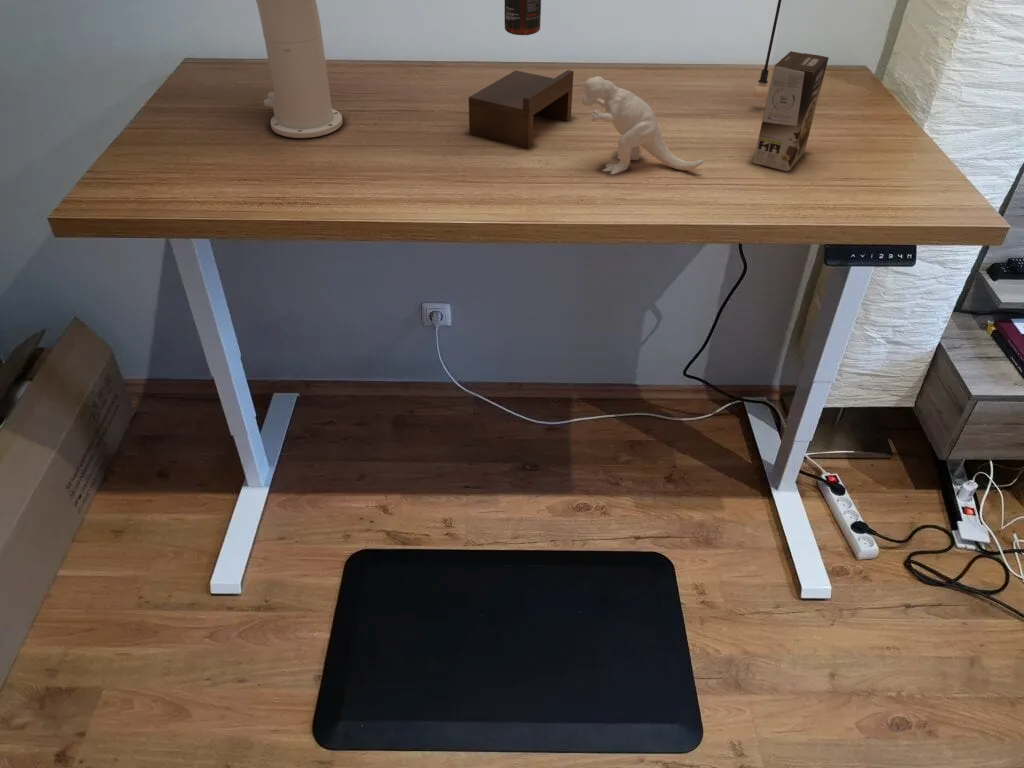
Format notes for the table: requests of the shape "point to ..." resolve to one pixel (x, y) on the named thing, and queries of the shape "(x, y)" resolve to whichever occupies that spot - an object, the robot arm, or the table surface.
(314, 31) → the robot arm
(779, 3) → the light fixture
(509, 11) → the supplement bottle
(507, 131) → the stand
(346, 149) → the table surface
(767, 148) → the coffee box
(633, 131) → the dinosaur figurine
